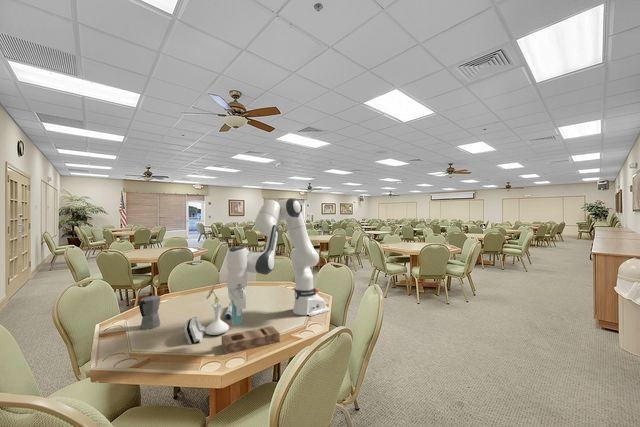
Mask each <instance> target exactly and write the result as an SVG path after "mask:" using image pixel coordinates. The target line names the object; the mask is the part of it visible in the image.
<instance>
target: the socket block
mask: <svg viewBox="0 0 640 427" xmlns="http://www.w3.org/2000/svg"><path fill="white" fill-rule="evenodd" d="M280 335H281V334H280V332H279V330H277V329H276V328H275V327H274V326H273V325H270V326H266V327H265V326H264V327H259V328H255V329H251V330H245V331H240V332H236V333H230V334H225V335H221V348H222V349H223V351H224V353H225V355H228V354H233V353H237V352H242V351H247V350H249V349H250V350H251V349H254V348H255V349H256V348H260V347H264V346H266V345H267V346H268V345H272V344H276V343H280V342H281V340H280Z"/></svg>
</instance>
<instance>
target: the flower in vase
mask: <svg viewBox="0 0 640 427" xmlns="http://www.w3.org/2000/svg"><path fill="white" fill-rule="evenodd" d="M215 288H216V284H213V285H212V286H211V288H210V290H209V291H208V294H207V296H206V299H207V300H209V299H210V297H211V296H212V294H213V295H214V297H215V298H214V300H213V301H214V303H213V304H211V307H212V308H213V310H214V319H213V321H211V323H210V324H209V325H208V326H206V327H205V333H206V335H211V336H217V335H222V334H224V333H226V332H227V331H228V330H229V329H230V326H229V324H228V323H226V322H225V321H223V320H222V319H221V317H220V313H221V308H222V306H223V304H222V303H219V302H221V301H220V298H219V297H218V296H217V295H216V294H215V292H214V290H215Z"/></svg>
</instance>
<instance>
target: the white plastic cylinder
mask: <svg viewBox="0 0 640 427" xmlns="http://www.w3.org/2000/svg"><path fill="white" fill-rule="evenodd" d="M226 309H227V310H226V311H225V312H224V316H223V319H224V320H225V321H230V320H232V301H231V300H230V303H229V304H228V307H227V308H226Z"/></svg>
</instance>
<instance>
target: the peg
mask: <svg viewBox="0 0 640 427" xmlns="http://www.w3.org/2000/svg"><path fill="white" fill-rule="evenodd" d="M242 323H243V309H241V315H240V316H237V315H236V306H235V305H234V302H233V300H232V317H231V324H232V325H233V326H235V325H241V324H242Z"/></svg>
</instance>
